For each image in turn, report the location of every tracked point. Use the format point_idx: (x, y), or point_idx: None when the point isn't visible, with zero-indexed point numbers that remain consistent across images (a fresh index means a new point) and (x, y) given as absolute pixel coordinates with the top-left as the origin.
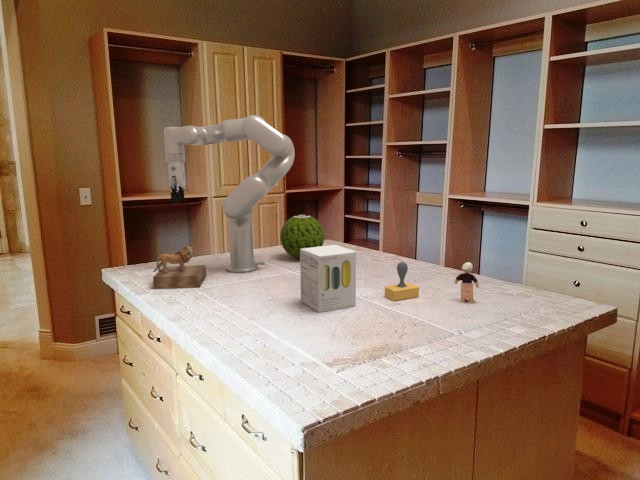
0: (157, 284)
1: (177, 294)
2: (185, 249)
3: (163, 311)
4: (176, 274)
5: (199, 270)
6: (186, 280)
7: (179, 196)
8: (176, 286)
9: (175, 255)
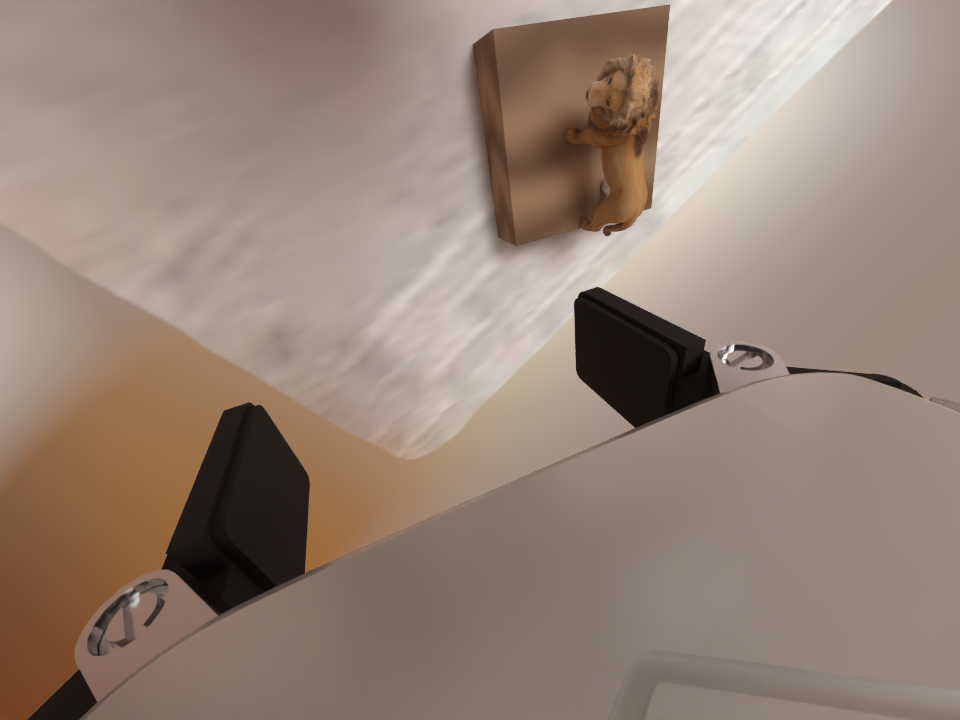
0: None
1: (686, 91)
2: (657, 91)
3: (805, 73)
4: None
5: (591, 33)
6: None
7: (636, 315)
8: None
9: (643, 148)
